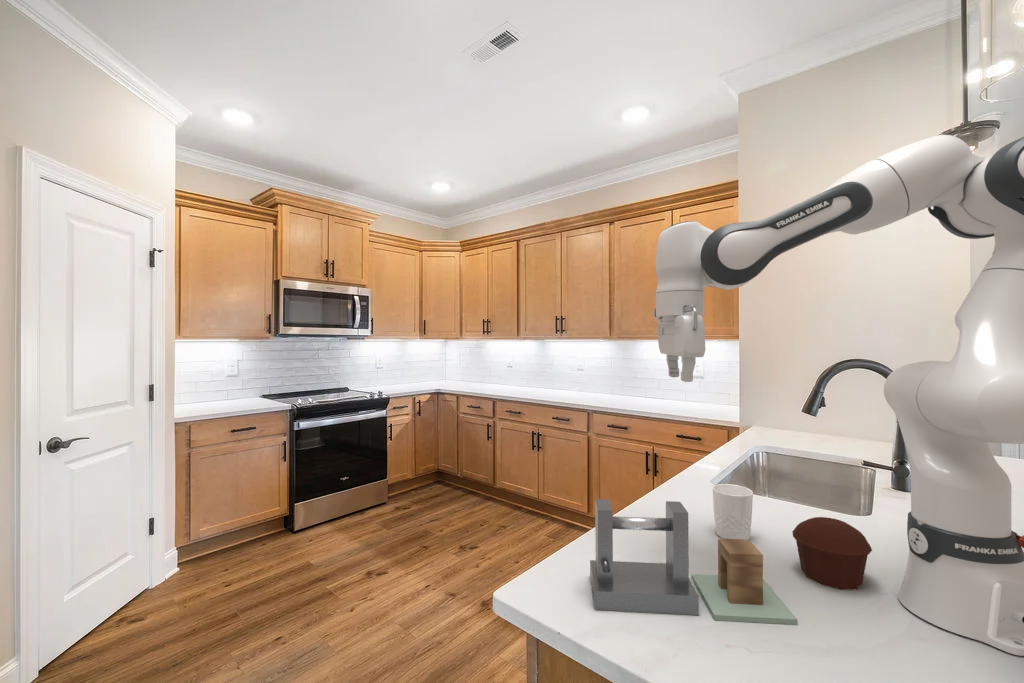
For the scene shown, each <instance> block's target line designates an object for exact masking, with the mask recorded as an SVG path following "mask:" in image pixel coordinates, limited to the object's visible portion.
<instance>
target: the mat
mask: <svg viewBox="0 0 1024 683" xmlns="http://www.w3.org/2000/svg"><path fill="white" fill-rule="evenodd" d="M690 575H691V579H690V580H691V581H692V583H693V584H694V585H695V587H696V588H695V589H697V591H698V593H699V595H700V597H701V599H702V601H703V602H704V603H705V606H706V607H707V609H708V611H709V614H710V615H711V616H712V619H713V620H714V621H719V622H720V621H725V622H741V623H743V622H744V623H756V624H758V623H759V624H773V625H774V624H777V625H796V626H798V625H799V624H798V620H799V619H798V618H797V617H796V616H795V615H794V613H793V612H792V611H791V609H789V607H788V606H787V605H786V604H785V602H784V601H783V600H782V599H781V598H780V597H779V596H778V595H777V593H776V592H775V591H774V590H773V589H772V587H771V586H770V585H769V584H768V583H767V582H766V580H765V579H764V578H763V605H749V604H730V603H729V601H728V600H727V589H720V587H719V586H718V574H700V573H699V574H697V573H691V574H690Z"/></svg>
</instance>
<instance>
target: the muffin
mask: <svg viewBox="0 0 1024 683" xmlns="http://www.w3.org/2000/svg"><path fill="white" fill-rule="evenodd" d="M792 537H793V538H794V539H795V542H796V546H797V552H798V557H799V563H800V568H801V571H802V572H803V573H804V575H805V577H806V578H808V579H810V580H812V581H813V582H816V583H818V584H819V585H820V586H824V587H825V586H826V587H830V588H833V589H837V590H840V591H843V590H844V591H845V590H854V589H856V590H858V589H859V587H860V586H861V584H862V585H863V582H864V578H865V577H864V576H865V571H866V568H867V566H866V565H867V560H868V556H869V555H871V552H872V551H873V548H872V547H871V545H870V544H869V542H868V540H867V538H866V536H865V535H864V534H863V533H862V532H861V531H860V530H858V529H857V528H855V527H854V526H852V525H851V524H849V523H847V522H845V521H843V520H840V519H836V518H833V517H826V516H825V517H824V516H817V517H816V516H815V517H810V518H808V519H805V520H803V521H801V522H799V523H797V525H796V526H795V528H794V529H793V530H792Z"/></svg>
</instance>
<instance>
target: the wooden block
mask: <svg viewBox="0 0 1024 683" xmlns="http://www.w3.org/2000/svg"><path fill="white" fill-rule="evenodd" d="M717 575H718V586H719V587H720V589H727V600H728V601H729V603H730V604H749V605H763V579H764V554H763V553H762V552H761V551H760V550H759V549H758V548H757V547H756V546H755V544H753V542H751V540H750V539H749V540H746V539H723V538H720V537H719V538H717Z"/></svg>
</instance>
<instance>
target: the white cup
mask: <svg viewBox="0 0 1024 683" xmlns="http://www.w3.org/2000/svg"><path fill="white" fill-rule="evenodd" d="M753 492H754V491H753V490H751V489H750V488H748V487H746V486H742V485H738V484H732V483H719V484H715V485H713V486H712V499H713V500H712V503H713V514H714V515H713V517H714V526H715V531H714V532H715V534H716V535H717V536H718V537H719V538H720V539H746V540H749V541H750V539H751V530H752V529H751V527H752V520H753V519H752V517H753V498H754V493H753Z"/></svg>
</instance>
